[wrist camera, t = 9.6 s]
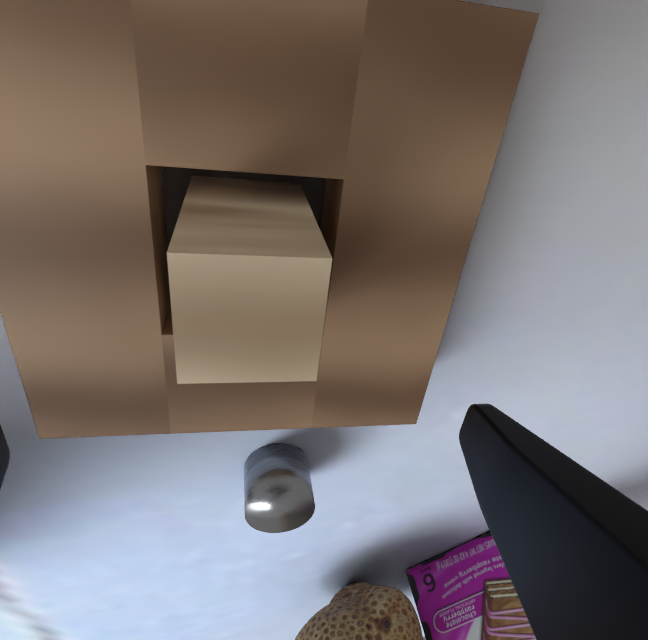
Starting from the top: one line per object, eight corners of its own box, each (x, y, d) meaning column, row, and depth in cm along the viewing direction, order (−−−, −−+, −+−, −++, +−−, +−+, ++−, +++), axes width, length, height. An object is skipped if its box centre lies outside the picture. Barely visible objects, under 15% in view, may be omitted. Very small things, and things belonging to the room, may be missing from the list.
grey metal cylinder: (304, 483, 27) (311, 530, 24) (243, 487, 26) (244, 535, 24) (310, 441, 25) (318, 486, 22) (244, 444, 24) (245, 491, 22)
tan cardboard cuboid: (292, 276, 19) (316, 380, 13) (196, 273, 18) (177, 384, 13) (300, 183, 17) (332, 258, 11) (191, 175, 16) (166, 252, 11)
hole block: (397, 382, 23) (416, 423, 21) (63, 388, 20) (39, 438, 18) (489, 17, 15) (538, 13, 13) (-50, -67, 12) (-126, -95, 10)
